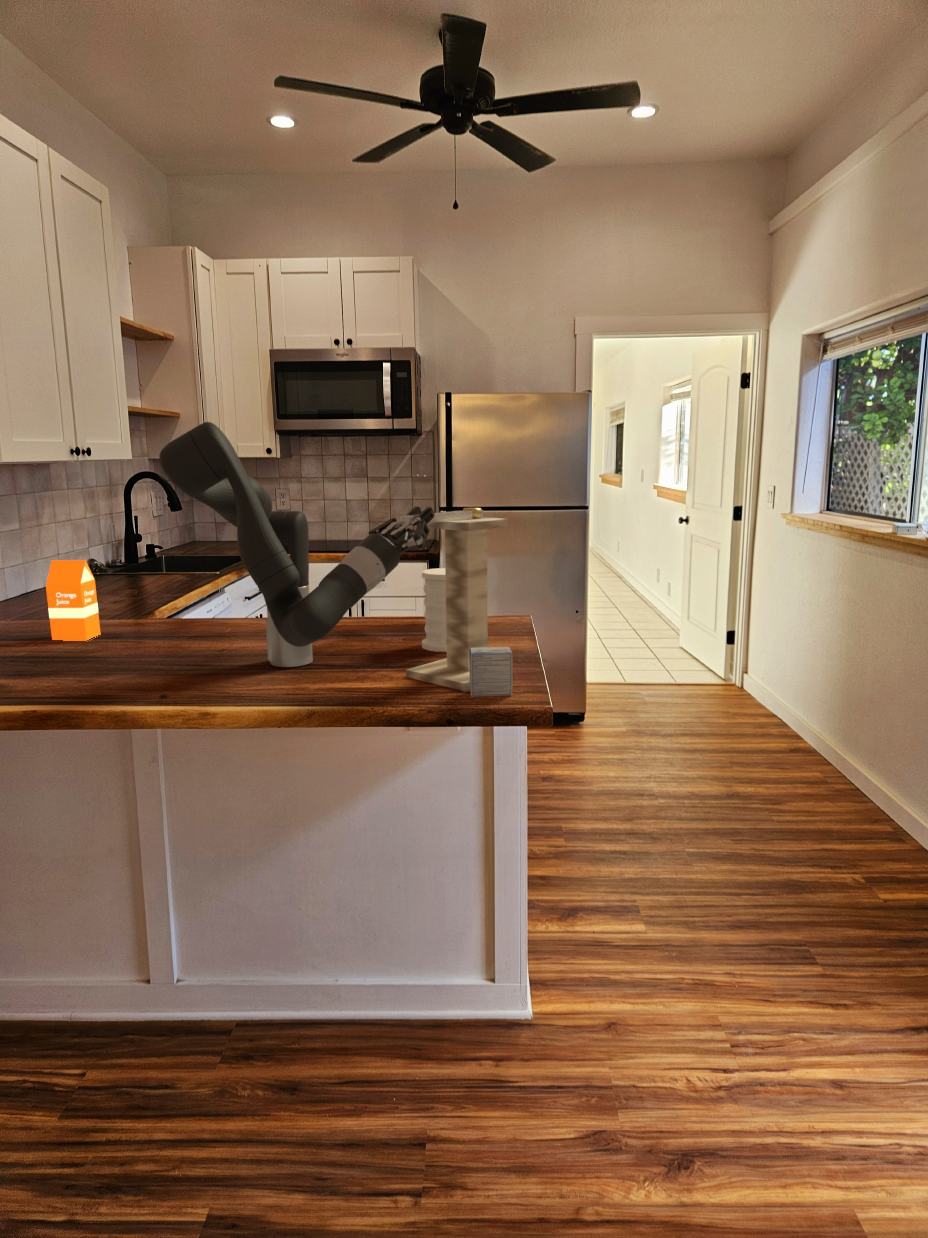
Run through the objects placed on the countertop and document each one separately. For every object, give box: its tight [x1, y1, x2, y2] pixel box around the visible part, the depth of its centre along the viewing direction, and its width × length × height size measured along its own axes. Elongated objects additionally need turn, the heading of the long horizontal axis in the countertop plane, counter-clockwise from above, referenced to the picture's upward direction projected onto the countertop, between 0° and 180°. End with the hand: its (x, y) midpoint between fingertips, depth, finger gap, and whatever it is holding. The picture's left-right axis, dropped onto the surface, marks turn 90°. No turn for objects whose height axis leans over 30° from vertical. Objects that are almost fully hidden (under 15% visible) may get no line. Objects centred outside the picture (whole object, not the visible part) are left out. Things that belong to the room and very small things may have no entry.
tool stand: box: [405, 516, 510, 692], centre depth 162 cm, size 16×15×32 cm
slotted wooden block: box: [399, 507, 484, 525], centre depth 155 cm, size 4×21×2 cm, turn 138°
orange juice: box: [45, 559, 101, 642], centre depth 202 cm, size 8×9×20 cm
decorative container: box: [421, 567, 447, 653], centre depth 189 cm, size 12×12×18 cm
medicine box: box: [469, 646, 513, 698], centre depth 152 cm, size 8×4×9 cm, turn 94°
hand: (425, 510), depth 151 cm, fingers open, 2 cm apart
